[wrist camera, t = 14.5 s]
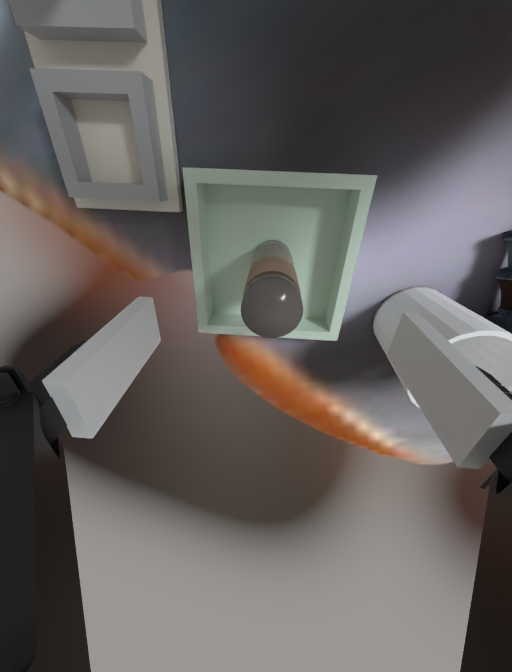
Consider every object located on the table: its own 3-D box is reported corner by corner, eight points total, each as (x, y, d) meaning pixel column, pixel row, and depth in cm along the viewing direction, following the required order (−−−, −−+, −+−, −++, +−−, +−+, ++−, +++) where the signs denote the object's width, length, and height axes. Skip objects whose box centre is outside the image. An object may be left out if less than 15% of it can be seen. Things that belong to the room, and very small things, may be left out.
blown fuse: (253, 238, 25) (239, 278, 15) (294, 240, 25) (308, 282, 15) (252, 277, 27) (239, 336, 17) (289, 279, 27) (299, 340, 17)
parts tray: (195, 169, 23) (182, 167, 20) (362, 176, 22) (377, 175, 19) (206, 316, 31) (198, 332, 28) (330, 323, 30) (337, 341, 27)
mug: (353, 314, 30) (387, 371, 21) (430, 264, 26) (510, 307, 17) (397, 371, 34) (441, 439, 25) (469, 334, 30) (550, 397, 21)
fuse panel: (-29, -182, 15) (-92, -258, 12) (142, -182, 14) (114, -260, 12) (83, 206, 25) (62, 209, 23) (183, 211, 25) (172, 214, 22)
